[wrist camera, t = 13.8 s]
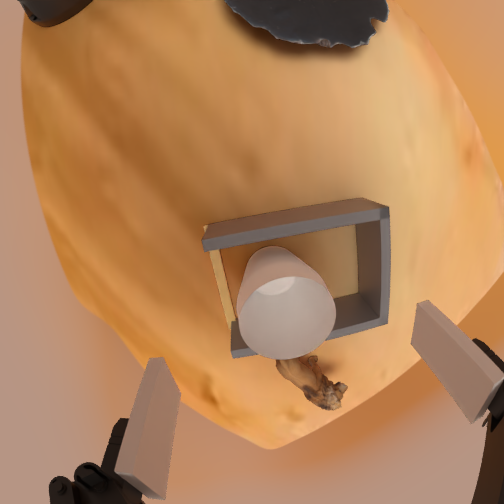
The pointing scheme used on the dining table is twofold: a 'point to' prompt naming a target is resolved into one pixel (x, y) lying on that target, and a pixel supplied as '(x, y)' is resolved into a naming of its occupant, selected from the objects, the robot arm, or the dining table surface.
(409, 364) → the dining table surface
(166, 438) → the robot arm
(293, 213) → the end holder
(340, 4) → the board
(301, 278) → the cup
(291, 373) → the lion figurine
